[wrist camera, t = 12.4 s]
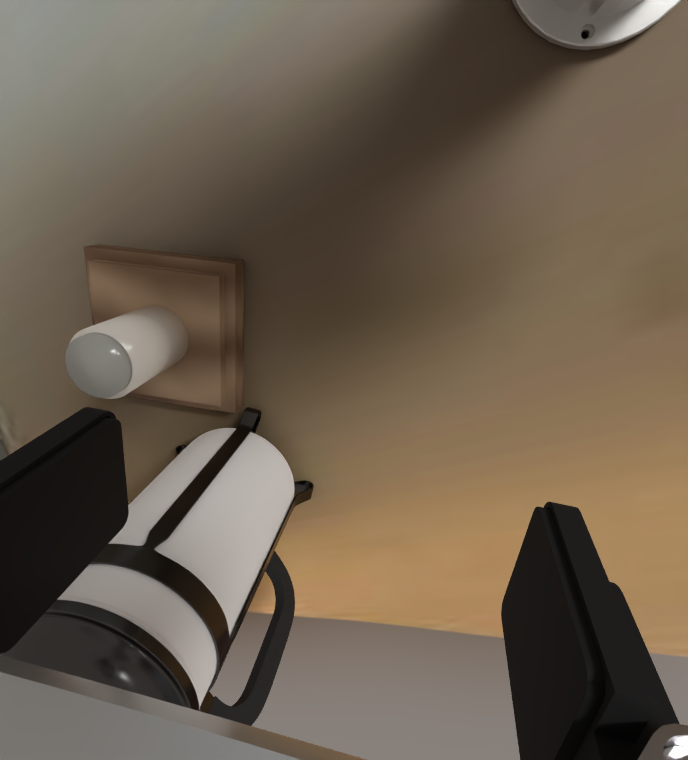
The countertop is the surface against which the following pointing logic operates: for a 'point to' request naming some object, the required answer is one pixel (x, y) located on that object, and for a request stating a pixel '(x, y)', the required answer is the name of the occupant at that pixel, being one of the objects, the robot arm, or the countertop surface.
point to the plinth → (191, 304)
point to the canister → (125, 351)
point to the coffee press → (182, 579)
